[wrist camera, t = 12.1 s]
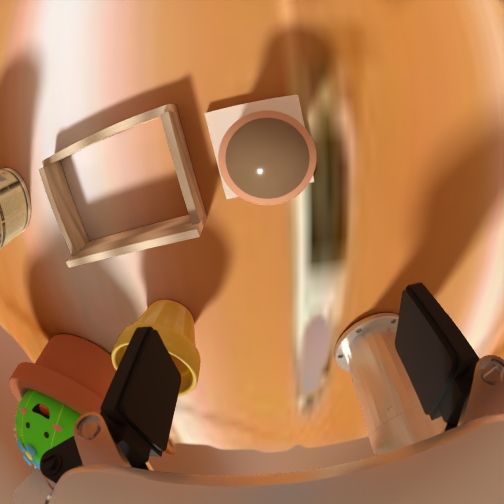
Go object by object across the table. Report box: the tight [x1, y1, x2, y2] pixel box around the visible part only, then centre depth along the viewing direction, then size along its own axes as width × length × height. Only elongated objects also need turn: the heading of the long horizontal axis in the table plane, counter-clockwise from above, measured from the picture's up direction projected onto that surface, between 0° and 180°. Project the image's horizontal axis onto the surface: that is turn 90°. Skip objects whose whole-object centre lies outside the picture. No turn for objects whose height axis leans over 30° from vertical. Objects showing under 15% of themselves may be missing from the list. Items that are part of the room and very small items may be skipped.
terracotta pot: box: [218, 111, 316, 205], centre depth 22 cm, size 7×7×8 cm
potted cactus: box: [9, 334, 116, 469], centre depth 32 cm, size 22×22×25 cm
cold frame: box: [39, 104, 207, 268], centre depth 26 cm, size 17×13×5 cm
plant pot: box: [111, 300, 200, 396], centre depth 32 cm, size 10×10×10 cm
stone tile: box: [205, 94, 314, 199], centre depth 26 cm, size 9×9×1 cm
